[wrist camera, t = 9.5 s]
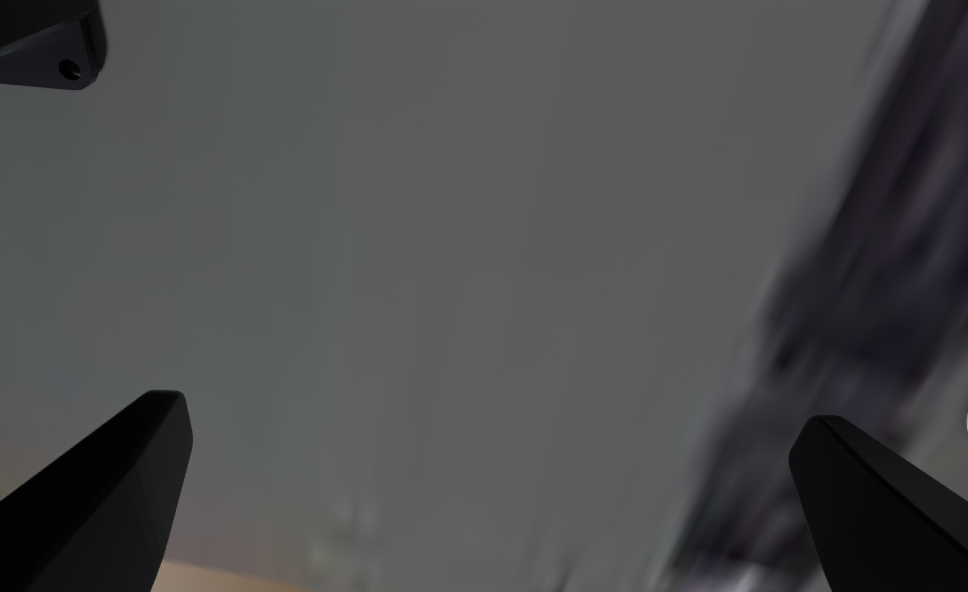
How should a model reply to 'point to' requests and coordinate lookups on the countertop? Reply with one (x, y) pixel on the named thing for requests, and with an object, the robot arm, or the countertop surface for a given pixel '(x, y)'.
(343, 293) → the countertop surface
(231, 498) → the countertop surface
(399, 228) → the countertop surface
